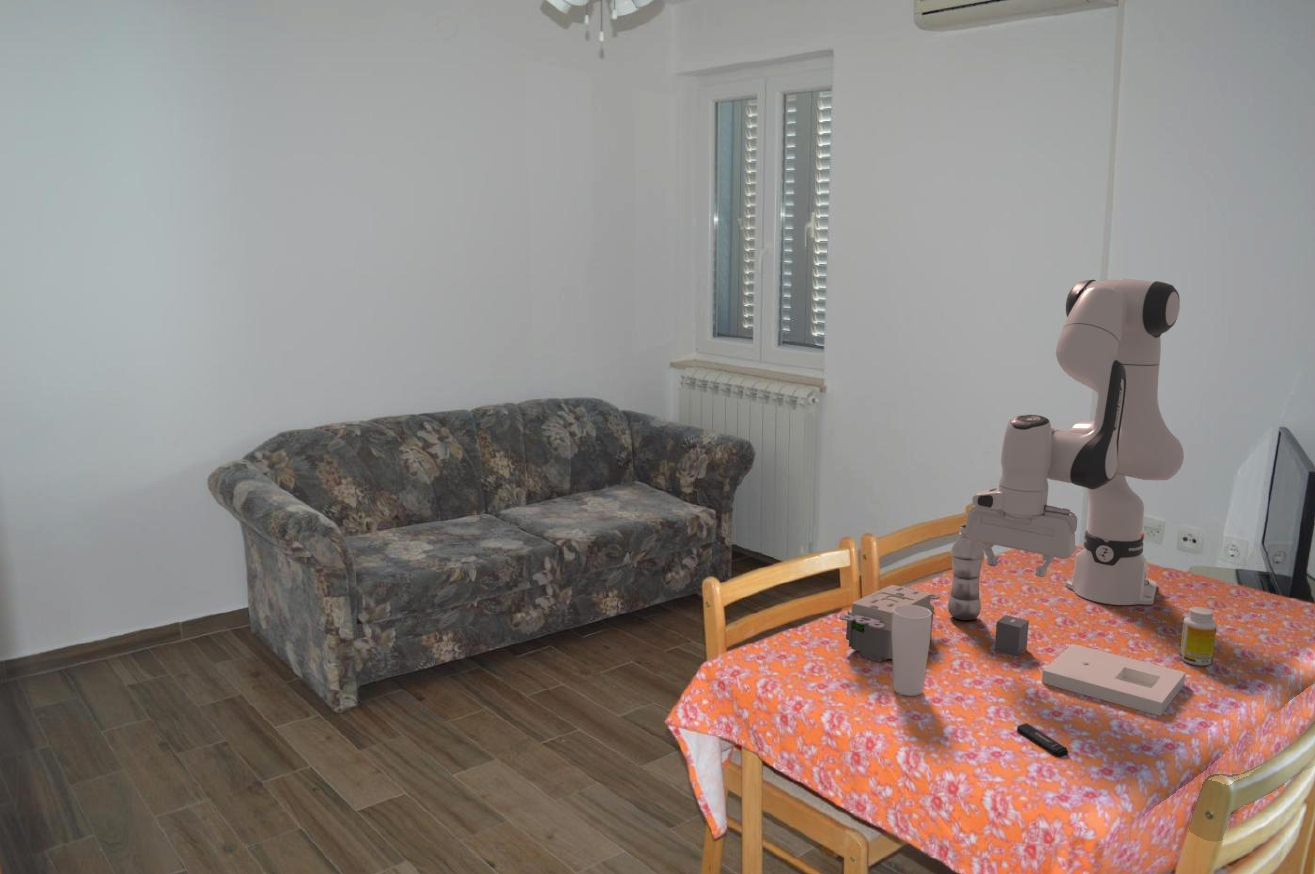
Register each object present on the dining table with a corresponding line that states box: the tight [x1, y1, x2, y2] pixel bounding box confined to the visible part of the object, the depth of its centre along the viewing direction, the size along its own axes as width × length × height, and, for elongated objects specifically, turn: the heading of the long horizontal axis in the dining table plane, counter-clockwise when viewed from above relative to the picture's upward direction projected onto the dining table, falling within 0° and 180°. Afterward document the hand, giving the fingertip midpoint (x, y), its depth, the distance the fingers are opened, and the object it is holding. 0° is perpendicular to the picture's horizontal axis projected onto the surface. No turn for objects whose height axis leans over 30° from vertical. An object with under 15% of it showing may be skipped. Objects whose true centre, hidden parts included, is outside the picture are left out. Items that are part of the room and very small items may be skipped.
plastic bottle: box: [947, 524, 985, 621], centre depth 214 cm, size 6×7×20 cm
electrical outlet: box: [839, 584, 941, 662], centre depth 200 cm, size 12×28×10 cm, turn 142°
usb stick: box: [1016, 723, 1069, 758], centre depth 163 cm, size 10×3×2 cm, turn 21°
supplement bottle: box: [1179, 606, 1218, 667], centre depth 194 cm, size 6×6×10 cm
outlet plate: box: [1041, 643, 1187, 717], centre depth 184 cm, size 16×20×2 cm
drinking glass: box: [891, 605, 933, 697], centre depth 180 cm, size 7×7×15 cm
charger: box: [993, 614, 1030, 657], centre depth 199 cm, size 5×5×6 cm
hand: (1016, 570), depth 196 cm, fingers open, 8 cm apart
